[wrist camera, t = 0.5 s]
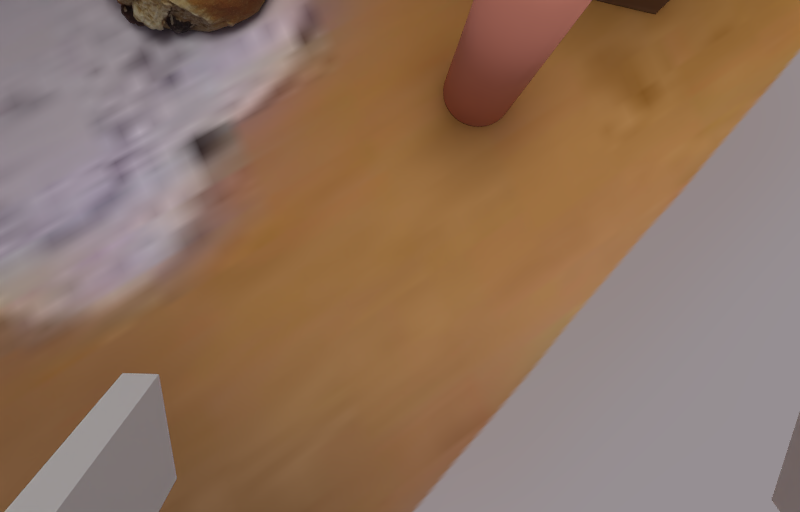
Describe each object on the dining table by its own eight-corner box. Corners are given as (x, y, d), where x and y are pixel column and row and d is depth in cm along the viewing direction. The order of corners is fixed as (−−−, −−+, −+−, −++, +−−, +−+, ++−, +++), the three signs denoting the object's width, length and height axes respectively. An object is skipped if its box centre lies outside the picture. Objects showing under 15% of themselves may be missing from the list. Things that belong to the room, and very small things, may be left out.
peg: (436, 66, 34) (482, -91, 20) (503, 52, 34) (594, -113, 20) (452, 133, 34) (509, 22, 20) (519, 118, 34) (622, -1, 20)
